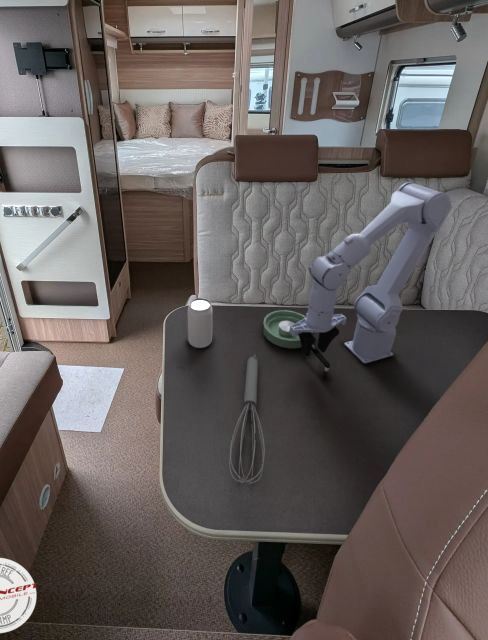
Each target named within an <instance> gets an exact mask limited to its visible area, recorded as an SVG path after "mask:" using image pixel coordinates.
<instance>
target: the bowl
mask: <svg viewBox="0 0 488 640" xmlns="http://www.w3.org/2000/svg"><path fill="white" fill-rule="evenodd" d="M304 318H306V315H304V314H303V313H299V312H297V311H293V310H287V309H283V310H282V309H278V310H273V311H272V312H270V313H267V314H266V315H265V316H264V318H263V321H262V333H263V336H264V337H265V338H266V339H267V341H269V342H270V343H272V344H273V345H276V346H278V347H281V348H285V349H300V348H302V346H301V341H300V338H299V335H297V336H296V337H284V336H282V335H281V334H280V333H279V332H278V328H279V323H280V322H282V321H291V322H293V323H294V324H296V323H298V322H299V321H301V320H302V319H304ZM311 333H312V336H313V337H314V332H311Z"/></svg>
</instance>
